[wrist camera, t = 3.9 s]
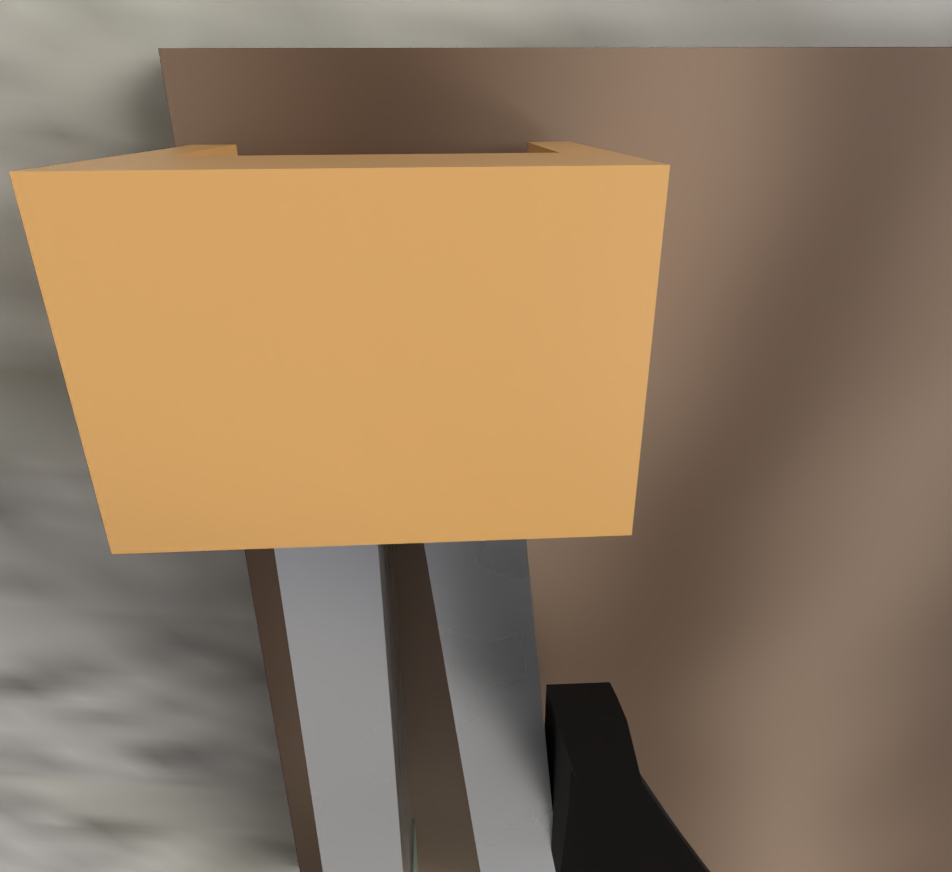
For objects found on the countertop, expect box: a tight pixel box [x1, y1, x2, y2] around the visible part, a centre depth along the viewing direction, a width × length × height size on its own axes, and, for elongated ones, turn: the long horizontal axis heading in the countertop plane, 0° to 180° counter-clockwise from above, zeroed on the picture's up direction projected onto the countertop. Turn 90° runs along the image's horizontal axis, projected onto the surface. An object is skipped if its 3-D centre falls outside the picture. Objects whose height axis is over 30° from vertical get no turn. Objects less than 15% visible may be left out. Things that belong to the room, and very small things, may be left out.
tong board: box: [158, 47, 952, 872], centre depth 11 cm, size 15×16×3 cm
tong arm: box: [424, 539, 556, 872], centre depth 11 cm, size 2×10×2 cm, turn 7°
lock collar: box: [9, 142, 670, 554], centre depth 7 cm, size 4×3×4 cm
